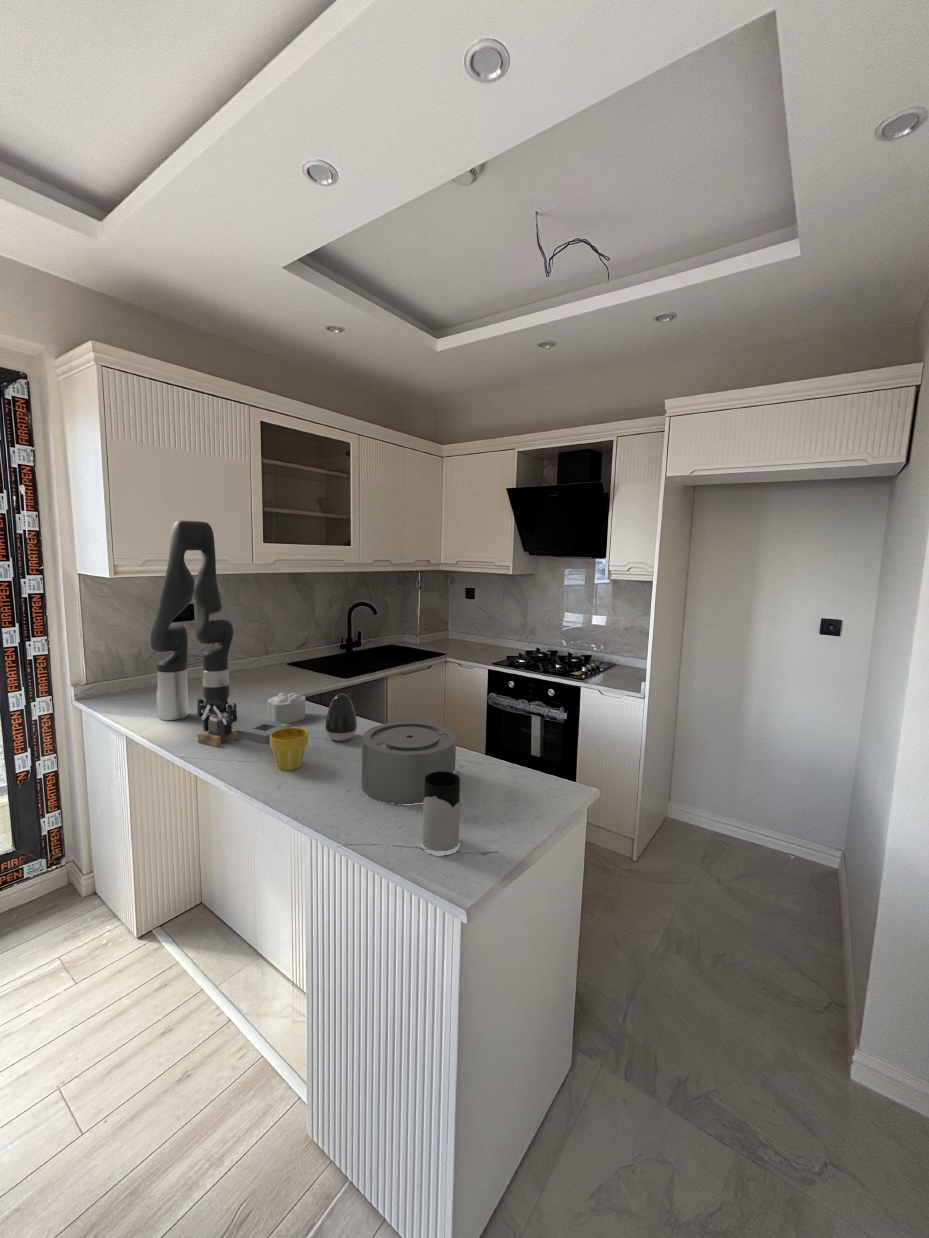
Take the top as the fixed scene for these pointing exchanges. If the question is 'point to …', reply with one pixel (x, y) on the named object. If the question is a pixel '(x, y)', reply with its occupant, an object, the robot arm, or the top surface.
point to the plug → (216, 727)
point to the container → (404, 759)
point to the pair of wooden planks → (214, 738)
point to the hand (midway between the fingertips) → (217, 732)
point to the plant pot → (289, 747)
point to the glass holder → (441, 811)
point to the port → (260, 730)
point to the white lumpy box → (286, 708)
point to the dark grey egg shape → (341, 718)
